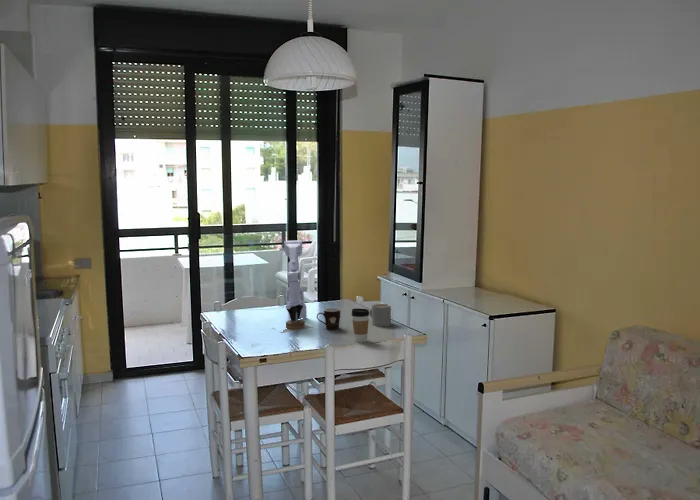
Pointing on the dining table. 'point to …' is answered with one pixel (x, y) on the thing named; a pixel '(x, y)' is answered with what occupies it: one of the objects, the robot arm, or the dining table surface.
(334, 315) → the coffee mug
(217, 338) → the dining table surface
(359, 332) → the coffee cup
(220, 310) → the dining table surface
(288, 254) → the robot arm
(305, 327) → the mat
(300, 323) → the faceted ring
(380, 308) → the coffee mug
